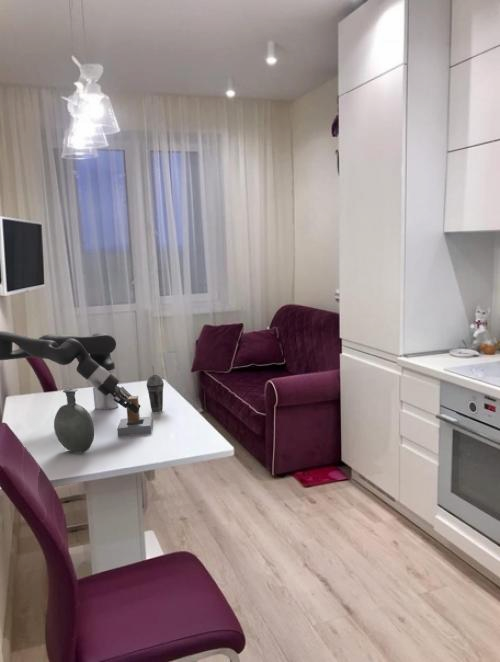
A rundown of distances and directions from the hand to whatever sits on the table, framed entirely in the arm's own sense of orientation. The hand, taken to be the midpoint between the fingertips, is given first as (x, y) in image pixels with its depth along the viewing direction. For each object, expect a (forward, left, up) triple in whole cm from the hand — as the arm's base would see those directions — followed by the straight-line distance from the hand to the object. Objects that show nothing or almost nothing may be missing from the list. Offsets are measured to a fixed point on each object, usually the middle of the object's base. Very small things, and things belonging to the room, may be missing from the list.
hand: (138, 409), depth 198 cm
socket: (-1, 0, -8) cm, 8 cm away
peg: (-2, -1, -4) cm, 5 cm away
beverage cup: (-7, +24, -8) cm, 26 cm away
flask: (-7, -27, -8) cm, 29 cm away
